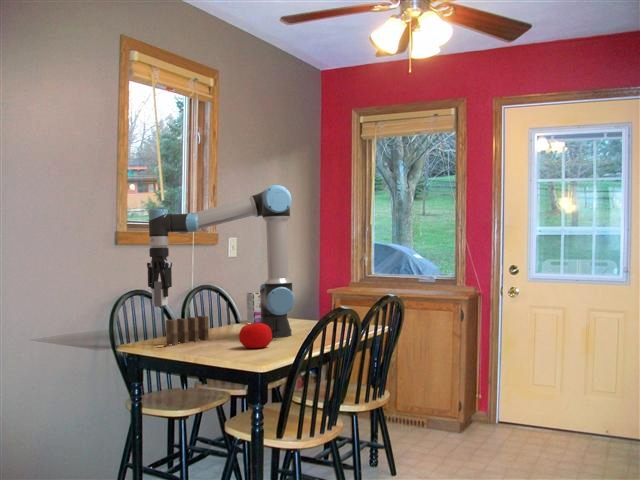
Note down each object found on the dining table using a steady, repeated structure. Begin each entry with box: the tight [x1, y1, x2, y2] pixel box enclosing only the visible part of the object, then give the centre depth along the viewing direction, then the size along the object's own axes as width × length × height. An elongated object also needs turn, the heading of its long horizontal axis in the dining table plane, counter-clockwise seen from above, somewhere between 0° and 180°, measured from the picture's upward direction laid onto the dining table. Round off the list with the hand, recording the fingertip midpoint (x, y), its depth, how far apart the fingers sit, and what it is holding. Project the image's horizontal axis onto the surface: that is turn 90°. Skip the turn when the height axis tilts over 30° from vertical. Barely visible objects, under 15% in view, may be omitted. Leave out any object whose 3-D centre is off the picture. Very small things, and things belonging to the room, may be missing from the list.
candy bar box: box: [246, 291, 261, 324], centre depth 326 cm, size 11×5×16 cm, turn 148°
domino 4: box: [186, 316, 200, 343], centre depth 266 cm, size 5×2×10 cm, turn 51°
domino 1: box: [154, 281, 167, 308], centre depth 254 cm, size 5×2×10 cm, turn 51°
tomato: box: [238, 321, 273, 349], centre depth 243 cm, size 11×13×10 cm
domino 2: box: [165, 319, 179, 346], centre depth 258 cm, size 5×2×10 cm, turn 51°
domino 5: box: [196, 315, 210, 341], centre depth 271 cm, size 5×2×10 cm, turn 51°
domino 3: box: [176, 318, 189, 344], centre depth 262 cm, size 5×2×10 cm, turn 51°
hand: (160, 304), depth 254 cm, fingers closed on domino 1, 5 cm apart
